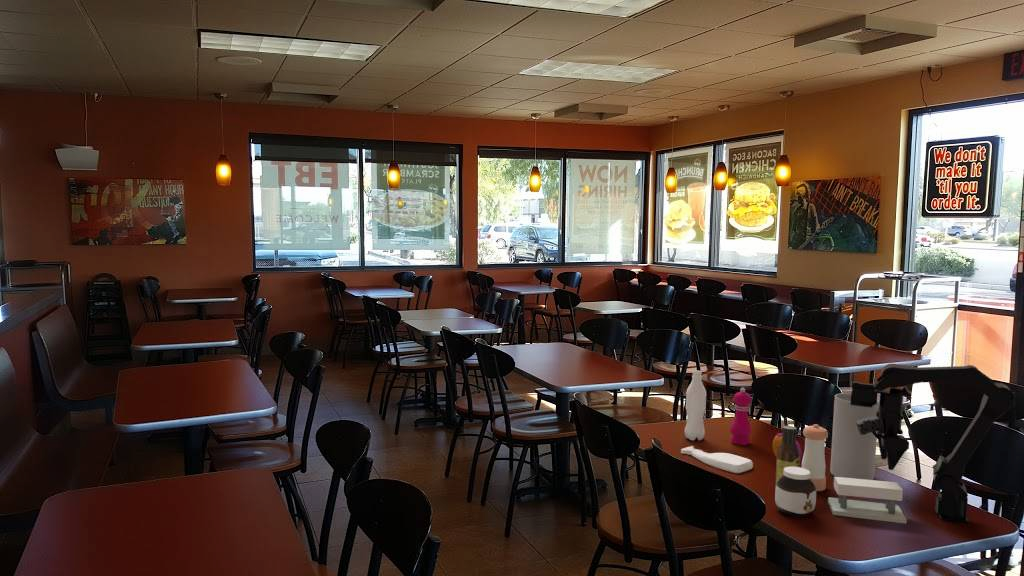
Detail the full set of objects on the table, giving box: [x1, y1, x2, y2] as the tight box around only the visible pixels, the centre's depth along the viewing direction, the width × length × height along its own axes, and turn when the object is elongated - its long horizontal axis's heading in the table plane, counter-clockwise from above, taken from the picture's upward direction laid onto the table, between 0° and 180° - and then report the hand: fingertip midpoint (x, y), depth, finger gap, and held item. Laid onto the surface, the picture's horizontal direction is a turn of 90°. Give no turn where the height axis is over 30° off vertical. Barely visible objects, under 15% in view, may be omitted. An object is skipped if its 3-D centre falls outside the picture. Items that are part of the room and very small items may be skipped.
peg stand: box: [827, 495, 907, 524], centre depth 201 cm, size 18×10×5 cm, turn 74°
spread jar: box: [774, 466, 817, 518], centre depth 202 cm, size 12×11×12 cm
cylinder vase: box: [829, 392, 880, 480], centre depth 228 cm, size 12×12×25 cm
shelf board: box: [833, 476, 904, 502], centre depth 201 cm, size 16×6×3 cm, turn 77°
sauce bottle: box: [775, 425, 801, 485], centre depth 212 cm, size 6×6×20 cm
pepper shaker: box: [801, 423, 829, 492], centre depth 219 cm, size 7×7×19 cm
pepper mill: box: [729, 387, 752, 446], centre depth 262 cm, size 7×7×20 cm
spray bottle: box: [680, 445, 754, 474], centre depth 242 cm, size 3×11×25 cm
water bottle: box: [684, 369, 707, 441], centre depth 265 cm, size 7×7×25 cm
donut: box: [772, 432, 802, 460], centre depth 240 cm, size 8×9×10 cm
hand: (887, 464), depth 205 cm, fingers open, 9 cm apart
